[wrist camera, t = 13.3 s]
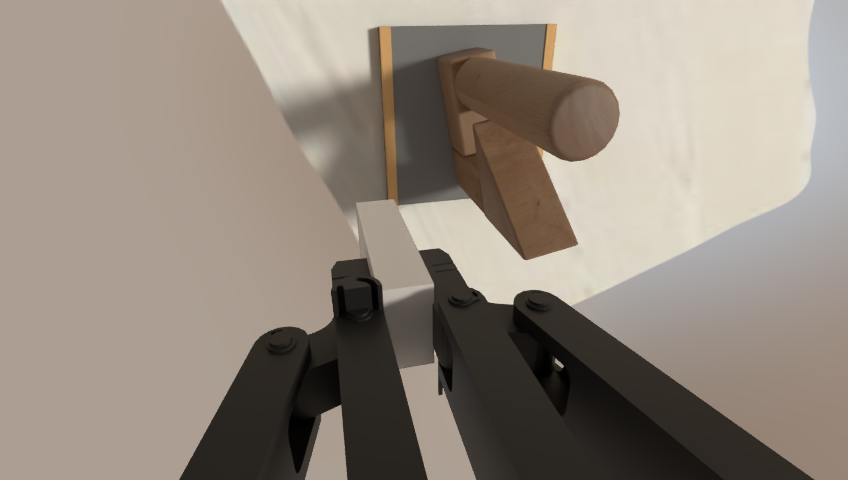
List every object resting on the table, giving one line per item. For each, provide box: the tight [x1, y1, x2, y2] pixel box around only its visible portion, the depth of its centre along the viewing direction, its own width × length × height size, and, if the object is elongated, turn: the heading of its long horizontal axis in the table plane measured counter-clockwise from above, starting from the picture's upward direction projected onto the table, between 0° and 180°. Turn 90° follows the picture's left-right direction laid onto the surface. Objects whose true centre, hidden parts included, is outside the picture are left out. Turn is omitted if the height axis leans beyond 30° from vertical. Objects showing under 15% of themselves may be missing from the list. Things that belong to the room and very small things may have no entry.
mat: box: [379, 24, 557, 206], centre depth 36 cm, size 14×14×1 cm
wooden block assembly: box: [437, 47, 620, 260], centre depth 28 cm, size 4×11×18 cm, turn 12°
